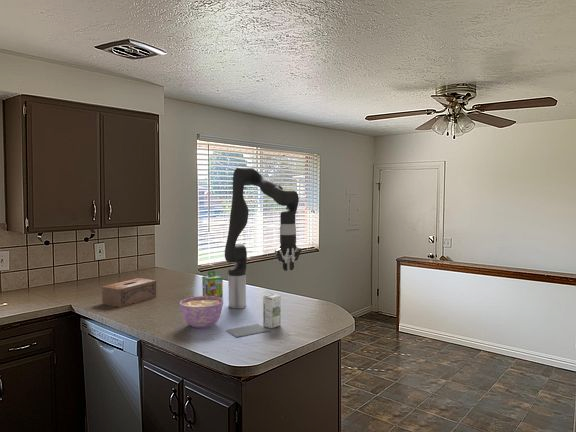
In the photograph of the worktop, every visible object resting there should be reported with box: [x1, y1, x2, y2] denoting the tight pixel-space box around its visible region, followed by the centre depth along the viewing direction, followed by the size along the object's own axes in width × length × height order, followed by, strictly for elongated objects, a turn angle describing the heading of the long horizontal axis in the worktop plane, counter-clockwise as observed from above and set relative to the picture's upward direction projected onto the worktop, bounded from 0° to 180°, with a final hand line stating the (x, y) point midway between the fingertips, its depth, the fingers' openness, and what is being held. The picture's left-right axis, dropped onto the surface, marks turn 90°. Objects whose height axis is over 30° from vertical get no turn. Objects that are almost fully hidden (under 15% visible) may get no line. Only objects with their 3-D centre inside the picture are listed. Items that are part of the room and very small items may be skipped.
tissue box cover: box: [101, 277, 157, 308], centre depth 258 cm, size 26×14×10 cm, turn 149°
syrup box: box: [262, 293, 282, 329], centre depth 208 cm, size 6×6×14 cm
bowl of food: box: [179, 295, 224, 330], centre depth 210 cm, size 20×20×12 cm
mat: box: [225, 323, 270, 338], centre depth 202 cm, size 11×16×1 cm
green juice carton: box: [201, 270, 224, 298], centre depth 265 cm, size 9×9×15 cm
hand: (288, 270), depth 212 cm, fingers open, 2 cm apart
